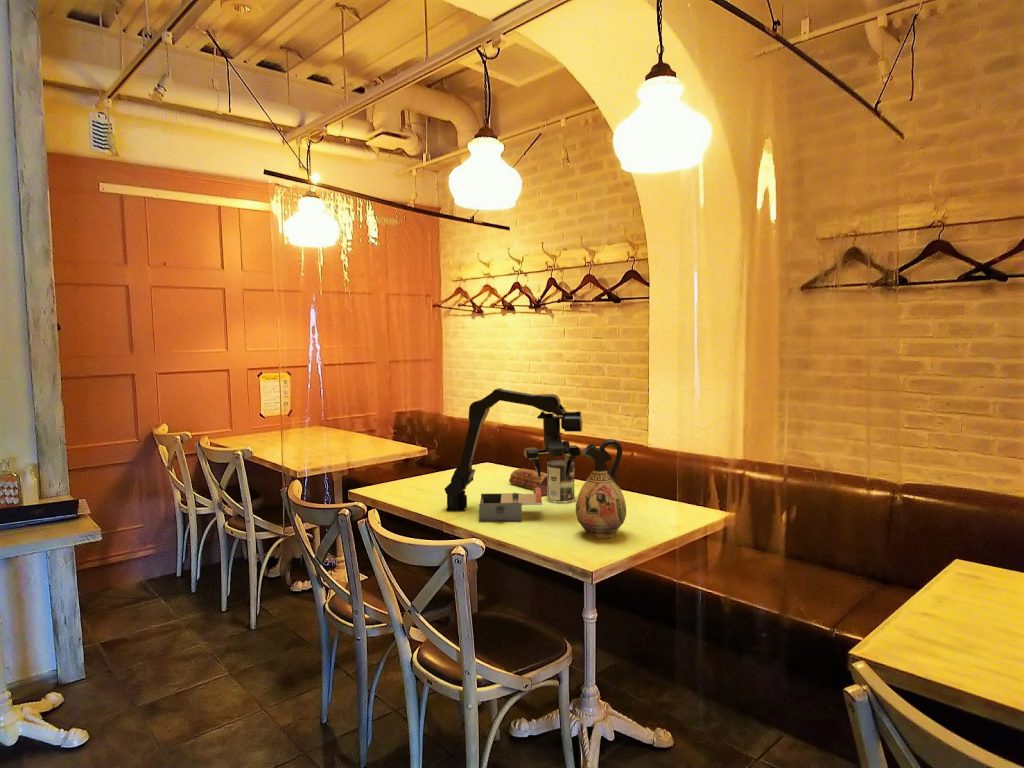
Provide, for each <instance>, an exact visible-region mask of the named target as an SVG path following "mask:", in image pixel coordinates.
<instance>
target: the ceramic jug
mask: <svg viewBox="0 0 1024 768" xmlns="http://www.w3.org/2000/svg"><path fill="white" fill-rule="evenodd" d="M606 447H614V448H615V449H616V456H615V459H614V461H613V464H612V466H611V468H610V469H609V468H608V466H607V462H608V461H612V460H613V458H612V455H611V454H610V453H609V452H608V451H607V450H606ZM580 456H583V457H586V458H589V459H591V460H592V461H594V463H595V465H594V469H592V472H591V473H590V474H589V475H588V477H587V478H586V479H585V482H584V484H583V485H582V486H581V488H580V491H579V493H578V495H577V498H576V499H577V500H576V504H575V515H576V520H577V522H578V523H579V524H580V525H581V527H582V529H583V530H584V531H585V532H584V535H586V536H587V537H589V538H592V539H601V540H605V539H610V538H611V539H612V538H614V537H615V536H616V535H617V534H618V533H617V532H618V530H620V527H621V526H622V525H623V524H624V522H625V520H626V517H627V504H626V500H625V496H624V494H623V493H622V490H621V487H620V485H619V481H618V476H617V471H618V468H619V466H620V462H621V459H622V457H623V447H622V444H621V442H619V441H618V440H616V439H613V438H609V439H606V440H604V441H602V442H601V443H600V445H599V447H598V446H597V445H595V444H594V443H593V442H592V443H590V444H588V445H587V446H586V447H584V449H583V450H582V452H581V455H580Z"/></svg>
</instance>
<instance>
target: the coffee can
mask: <svg viewBox="0 0 1024 768" xmlns="http://www.w3.org/2000/svg"><path fill="white" fill-rule="evenodd" d="M546 465H547V466H546V467H547V474H548V495H547V501H548V502H550V503H554V504H567V503H568V504H569V503H572V502H575V465H576V463H575V462H574V460H573V461H572V463H571V465H570V468H569V471H568V474H567V476H565V459H556V460H555V459H554V460H549V461H547V462H546Z"/></svg>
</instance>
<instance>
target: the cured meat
mask: <svg viewBox="0 0 1024 768" xmlns="http://www.w3.org/2000/svg"><path fill="white" fill-rule="evenodd" d="M540 473H541V477H540V478H539V476H538V474H537V471H536V469H535V470H534V469H528V468H517V469H515V470H513V471H512V472H511V473H510V475H509V476H510V477H509V478H508V482H509V483H510V484H512V485H516V486H520V487H523V488H526V489H531V490H532V491H533V494H536V487H540V489H541V497H542V496H548V473H546V472H543V471H540Z"/></svg>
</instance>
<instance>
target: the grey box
mask: <svg viewBox="0 0 1024 768" xmlns="http://www.w3.org/2000/svg"><path fill="white" fill-rule="evenodd" d="M513 493H514V492H512V493H503V492H502V493H481V494H480V502H479V503H478V519H479V520H478V522H479V523H521V522H523V520H522V518H523V517H522V516H523V515H522V513H523V512H522V506H523V505H522V503H501V494H513ZM517 493H518V492H517ZM518 494H522V493H518Z"/></svg>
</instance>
